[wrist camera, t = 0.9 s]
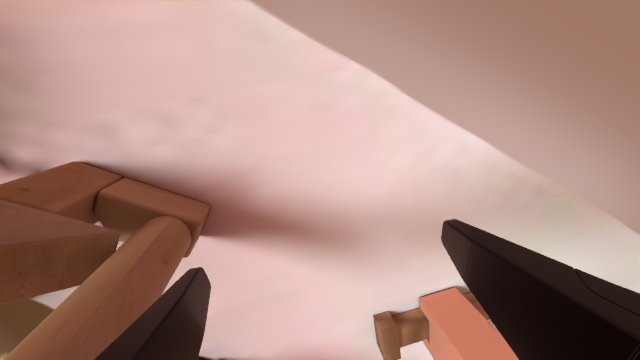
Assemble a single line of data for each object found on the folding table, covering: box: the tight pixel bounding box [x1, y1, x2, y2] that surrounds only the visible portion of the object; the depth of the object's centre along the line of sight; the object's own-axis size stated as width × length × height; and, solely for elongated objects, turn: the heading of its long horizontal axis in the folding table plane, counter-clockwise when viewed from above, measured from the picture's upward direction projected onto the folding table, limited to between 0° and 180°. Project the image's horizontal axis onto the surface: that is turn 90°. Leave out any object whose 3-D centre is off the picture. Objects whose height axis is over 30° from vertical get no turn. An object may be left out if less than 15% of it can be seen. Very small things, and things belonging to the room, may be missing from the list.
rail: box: [373, 292, 490, 360], centre depth 30 cm, size 20×6×5 cm, turn 100°
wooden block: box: [0, 162, 210, 360], centre depth 13 cm, size 4×11×18 cm, turn 64°
